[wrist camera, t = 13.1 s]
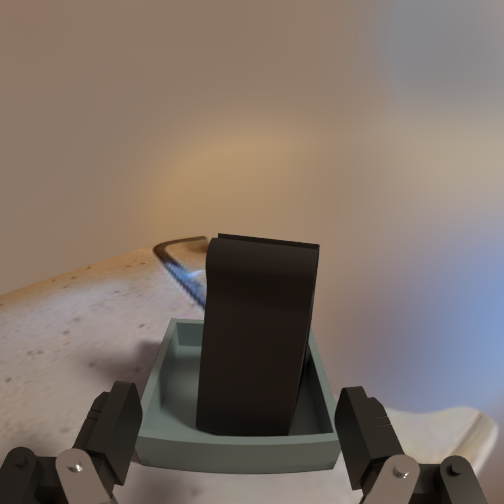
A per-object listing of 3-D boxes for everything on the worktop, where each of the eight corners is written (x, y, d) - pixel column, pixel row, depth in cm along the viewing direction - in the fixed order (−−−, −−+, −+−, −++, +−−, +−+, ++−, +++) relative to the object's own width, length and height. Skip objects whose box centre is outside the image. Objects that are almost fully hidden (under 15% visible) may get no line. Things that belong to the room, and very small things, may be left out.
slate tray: (142, 464, 16) (129, 434, 15) (174, 349, 28) (171, 318, 27) (333, 468, 16) (345, 439, 15) (304, 352, 29) (308, 321, 27)
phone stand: (236, 355, 26) (238, 218, 22) (305, 367, 25) (324, 227, 21) (195, 429, 18) (178, 261, 14) (284, 451, 17) (310, 280, 13)
